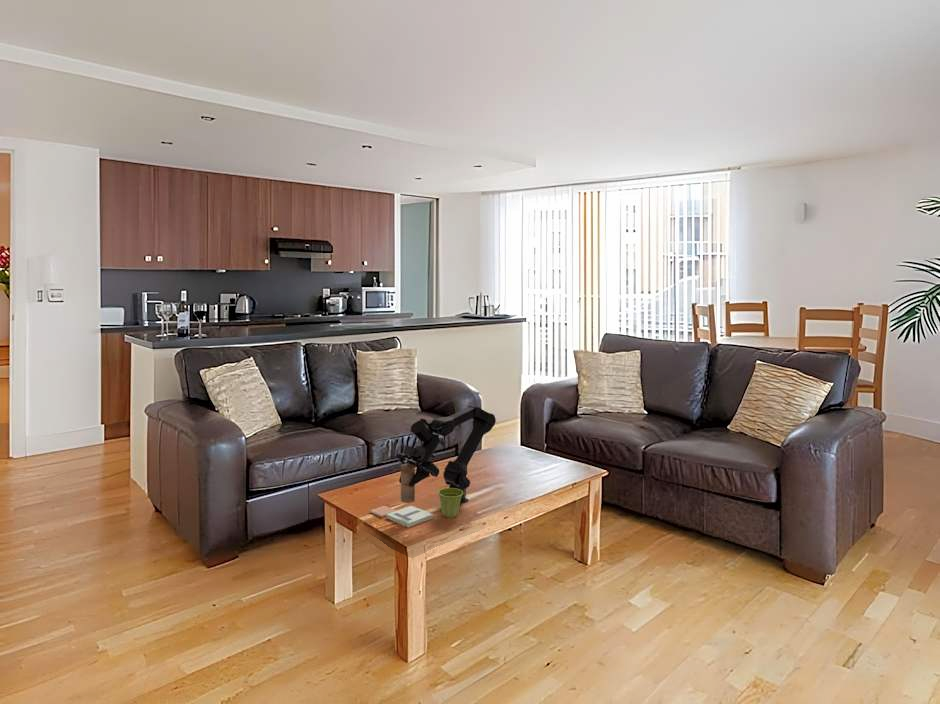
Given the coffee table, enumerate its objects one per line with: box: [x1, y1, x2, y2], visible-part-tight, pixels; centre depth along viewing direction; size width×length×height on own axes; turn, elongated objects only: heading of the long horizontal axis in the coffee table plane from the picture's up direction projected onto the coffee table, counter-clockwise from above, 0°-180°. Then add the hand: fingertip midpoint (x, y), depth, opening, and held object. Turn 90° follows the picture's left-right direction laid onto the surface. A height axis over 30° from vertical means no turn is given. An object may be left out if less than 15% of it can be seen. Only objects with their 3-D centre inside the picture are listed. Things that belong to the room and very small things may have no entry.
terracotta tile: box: [369, 505, 397, 518], centre depth 238 cm, size 7×7×1 cm
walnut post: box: [400, 464, 416, 504], centre depth 230 cm, size 5×5×13 cm
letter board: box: [386, 505, 434, 528], centre depth 233 cm, size 12×12×2 cm
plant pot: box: [437, 487, 463, 518], centre depth 236 cm, size 9×9×9 cm
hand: (404, 484), depth 229 cm, fingers closed on walnut post, 5 cm apart
